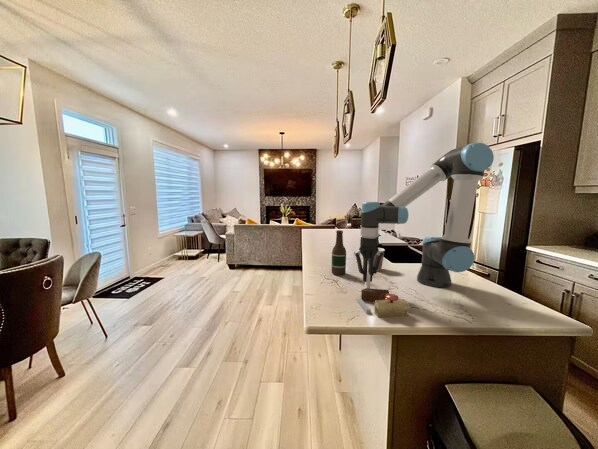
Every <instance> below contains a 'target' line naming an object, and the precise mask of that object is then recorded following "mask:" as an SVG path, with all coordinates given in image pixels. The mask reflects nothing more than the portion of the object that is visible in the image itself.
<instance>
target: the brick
mask: <svg viewBox="0 0 598 449" xmlns="http://www.w3.org/2000/svg"><path fill="white" fill-rule="evenodd" d="M389 292H390V291H389V290H388V289H383V288H382V289H381V288H371V287H370V288H366V289H365V288H362V289H361V295H360V299H362V300H363V301H364V302H366V303H368V302H369V303H375V300H388V299H386V298H385V295H386V294H390V293H389Z"/></svg>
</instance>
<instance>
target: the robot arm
mask: <svg viewBox="0 0 598 449" xmlns="http://www.w3.org/2000/svg"><path fill="white" fill-rule="evenodd" d="M494 159H495V157H494V151H493V150H492V148H490V146H489V145H487V144H486V143H483V142H471V143H468V144H465V145H462V146H459V147H455V148H454V149H451V150H449V151H447V152H446V153H445V154H444V155H442V156H441V157H439V159H437V160H436V161H434V163H432V164H431V165H430V166H429V169H428V170H427V171H425V172H423V174H421V175H420V176H419V177H417V178H416V179H414V180H413V181H412V182H410V183H409V184H408V185H407V186H405V187H403V189H401V190H399V192H397V193H395V195H393V196H392V197H391V198H389V199H387V201H385V202H384V203H382V204H380V202H379V201H363V202H362V204H361V211H360V213H361V214H360V215H361V216H360V217H361V219H360V238H359V241H360V242H359V244H360V246H359V249H358V250H357V251H354V252H353V255H354V256H355V259H356V263H357V268H358V272H359V274H362V282H364V286H363V287H364V288H363V289H366V288H371V283H372V282H373V276H374V275H375V274H377V273H378V271H377V270H378V267H379V263H380V259H381V257H382V256H383V253H382V252H380V251H379V250H378V248H379V247H378V246H379V238H378V237H379V230H380V229H379V227H380V226H379V225H380V224H383V225H384V224H391V225H392V224H393V225H401V224H406V223H407V222H408V220H409V209H408V208H407V206H409V205H410V204H412V203H413V202H414V201H416V200H417V199H419V198H420V197H421V196H422V195H424V194H426V192H428V191H429V190H430V189H432V188H433V187H434V186H436V185H437V184H439V183H440V182H445V181H446V180H447V179H449V178H452V180H453V186H452V193H451V198H450V201H449V202H450V203H449V207H448V208H449V209H448V213H447V220H446V221H447V222H446V225H445V232H444V234H443V235H442V236H425V237H424V238H423V241H422V250H421V251H422V252H421V253H422V256H421V267H420V268H419V271H418V274H417V275H416V281H417V282H418V283H420V284H422V285H426V286H429V287H434V288H449V287H451V286H452V279H451V274H450V271H451V272H453V273H463V272H466V271H467V270H468V269H471V267H472V266H473V265H474V262H475V260H476V256H475V253H474V252H473V250H472V249H471V245H472V241H471V240H470V239H469V233H470V227H471V222H472V216H473V211H474V204H475V200H476V194H477V191H478V190H477V189H478V185H479V184H478V183H479V182H480V181H481V180H482V179H483V178H484V176H485V171H486V170H488V169H489V168H490V167H492V165H493V163H494ZM376 253H377V256H376V259H375V262H374V266H373V260H374V256H375V255H376ZM361 256H362V258H361ZM368 258H369V266H368Z"/></svg>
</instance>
